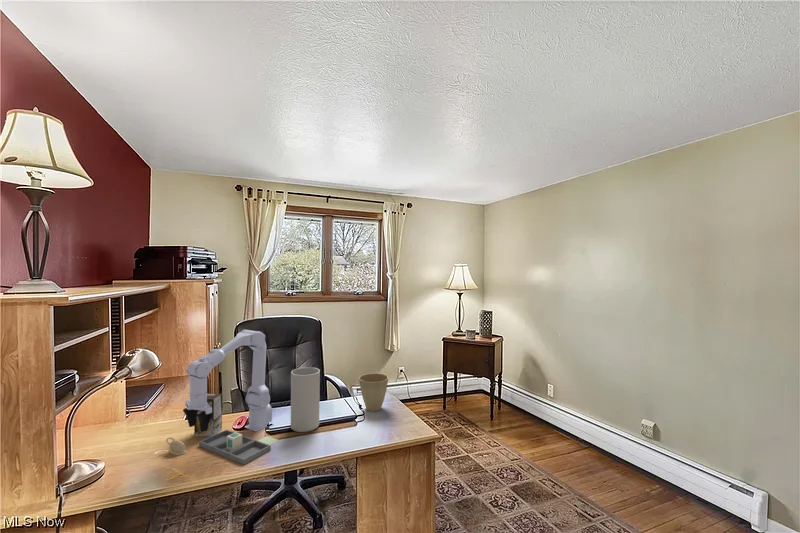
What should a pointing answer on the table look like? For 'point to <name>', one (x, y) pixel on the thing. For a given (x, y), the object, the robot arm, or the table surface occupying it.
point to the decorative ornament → (177, 447)
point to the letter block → (234, 441)
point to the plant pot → (373, 390)
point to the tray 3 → (249, 452)
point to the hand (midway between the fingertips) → (198, 428)
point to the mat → (268, 440)
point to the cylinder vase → (305, 399)
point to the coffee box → (215, 420)
